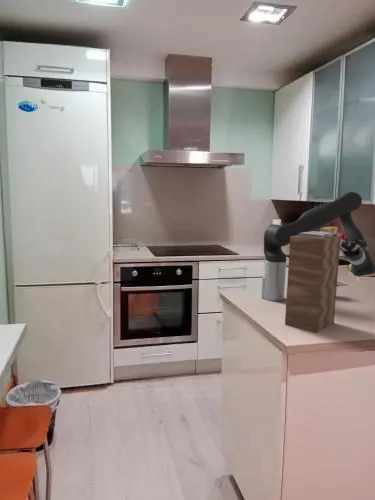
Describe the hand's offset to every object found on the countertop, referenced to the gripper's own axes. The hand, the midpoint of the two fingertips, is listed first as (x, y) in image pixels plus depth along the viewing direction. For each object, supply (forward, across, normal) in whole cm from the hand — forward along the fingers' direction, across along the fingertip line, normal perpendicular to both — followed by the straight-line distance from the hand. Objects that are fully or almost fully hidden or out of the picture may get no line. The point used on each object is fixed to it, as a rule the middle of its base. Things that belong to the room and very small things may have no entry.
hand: (344, 237), depth 161 cm
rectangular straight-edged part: (+20, 0, +9) cm, 22 cm away
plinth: (+10, 0, +40) cm, 41 cm away
